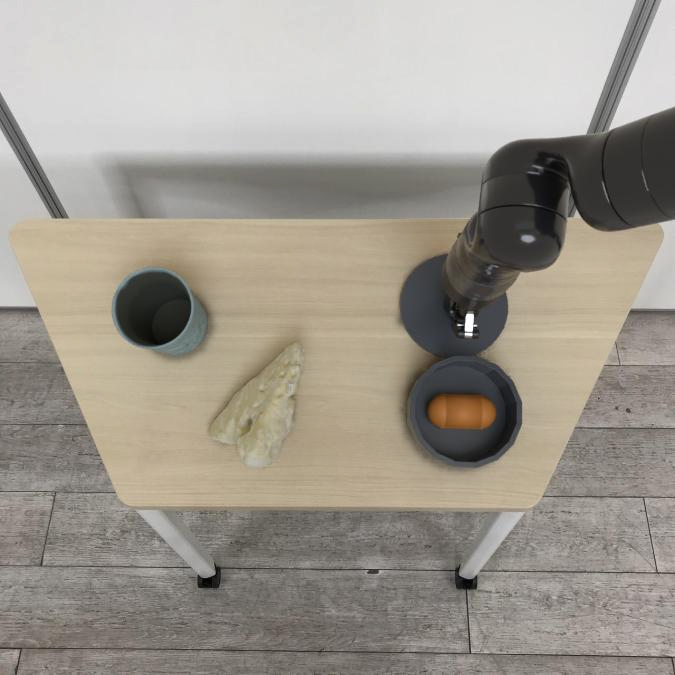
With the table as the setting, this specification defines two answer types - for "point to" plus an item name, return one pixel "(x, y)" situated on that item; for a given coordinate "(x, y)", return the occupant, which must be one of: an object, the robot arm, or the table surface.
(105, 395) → the table surface
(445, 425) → the bread
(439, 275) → the lid
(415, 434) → the pot
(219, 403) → the table surface
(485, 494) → the table surface
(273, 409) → the cream rock
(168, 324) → the blue cup
